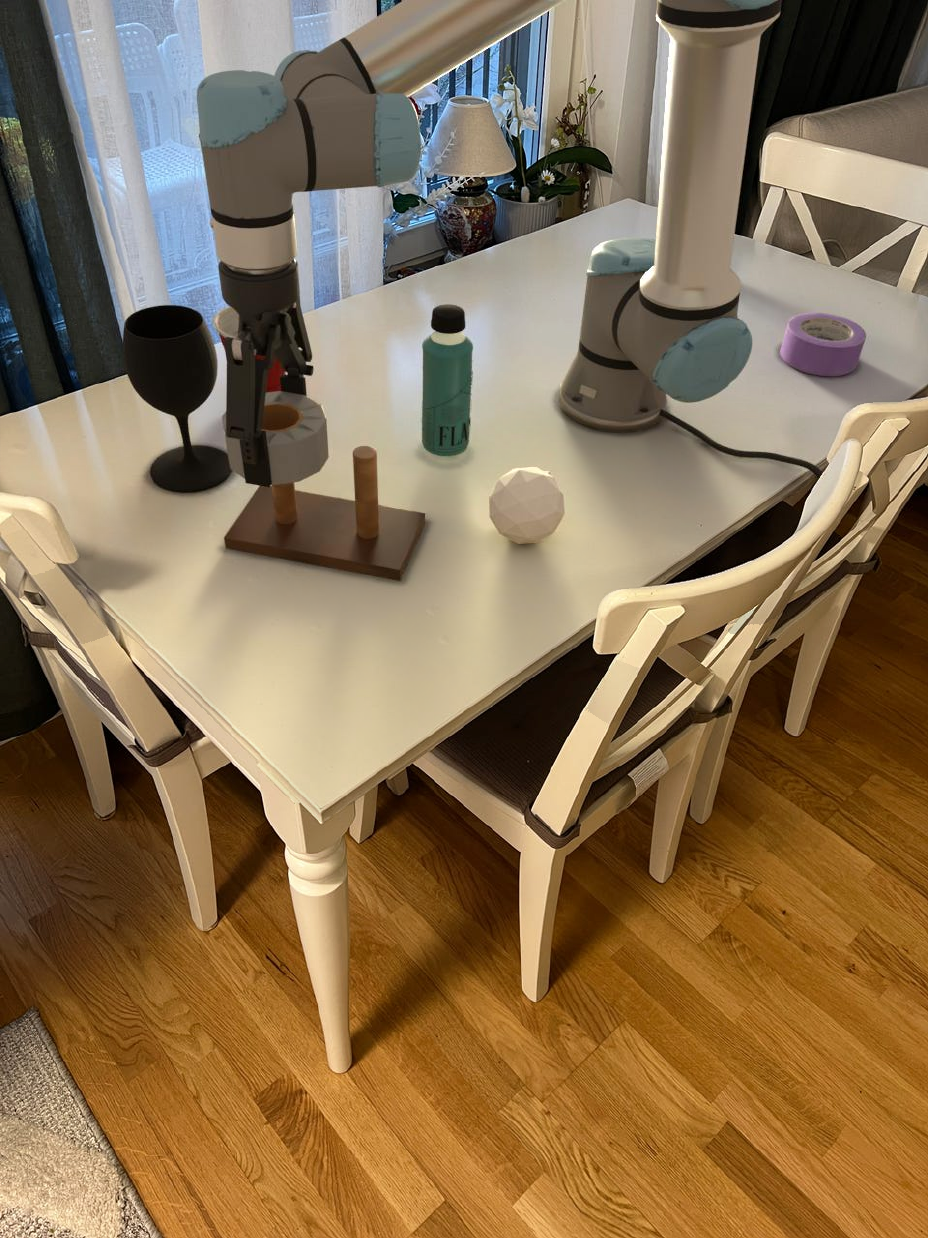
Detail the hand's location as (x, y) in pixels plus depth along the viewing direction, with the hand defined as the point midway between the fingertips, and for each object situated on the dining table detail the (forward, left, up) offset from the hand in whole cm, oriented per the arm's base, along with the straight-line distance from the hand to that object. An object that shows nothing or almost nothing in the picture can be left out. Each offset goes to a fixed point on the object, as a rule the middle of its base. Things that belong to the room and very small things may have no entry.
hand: (278, 454), depth 105 cm
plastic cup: (+14, -27, -11) cm, 32 cm away
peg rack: (-5, 0, -10) cm, 12 cm away
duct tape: (0, 0, 0) cm, 0 cm away
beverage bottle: (-14, -21, -11) cm, 27 cm away
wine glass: (+16, -8, -11) cm, 21 cm away
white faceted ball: (-28, -8, -11) cm, 31 cm away
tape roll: (-64, -64, -11) cm, 91 cm away
